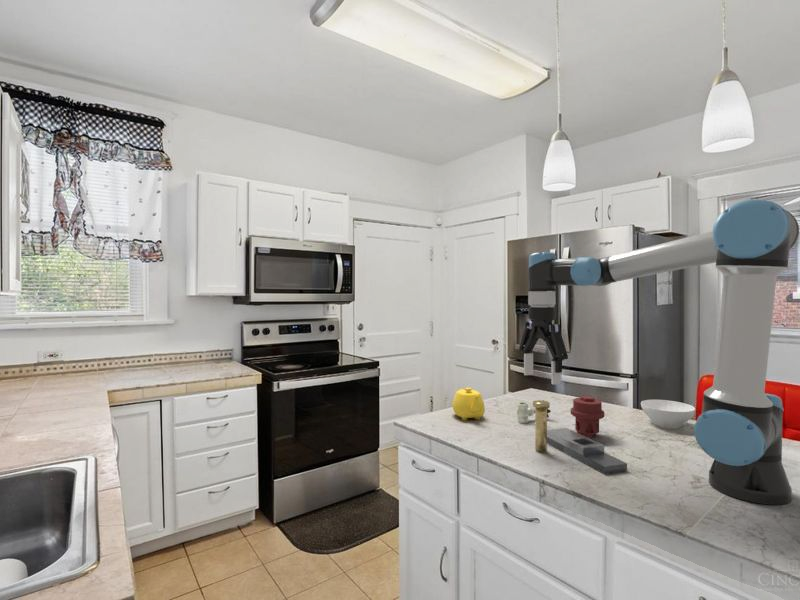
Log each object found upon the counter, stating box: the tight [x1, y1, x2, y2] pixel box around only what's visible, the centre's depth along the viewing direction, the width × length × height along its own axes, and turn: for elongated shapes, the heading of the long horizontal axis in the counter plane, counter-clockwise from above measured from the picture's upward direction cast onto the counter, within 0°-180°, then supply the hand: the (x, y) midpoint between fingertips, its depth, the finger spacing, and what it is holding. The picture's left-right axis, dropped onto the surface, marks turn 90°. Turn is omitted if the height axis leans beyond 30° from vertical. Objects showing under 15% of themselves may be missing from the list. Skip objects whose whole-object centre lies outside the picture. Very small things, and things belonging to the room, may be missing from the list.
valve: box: [516, 399, 552, 424], centre depth 158 cm, size 7×7×12 cm
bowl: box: [640, 399, 696, 430], centre depth 151 cm, size 16×16×7 cm
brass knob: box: [532, 399, 551, 454], centre depth 128 cm, size 5×5×14 cm
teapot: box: [452, 387, 486, 421], centre depth 162 cm, size 18×11×11 cm, turn 13°
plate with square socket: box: [547, 427, 628, 475], centre depth 124 cm, size 24×7×4 cm, turn 17°
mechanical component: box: [570, 395, 605, 439], centre depth 141 cm, size 12×10×10 cm
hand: (541, 379), depth 128 cm, fingers open, 13 cm apart
